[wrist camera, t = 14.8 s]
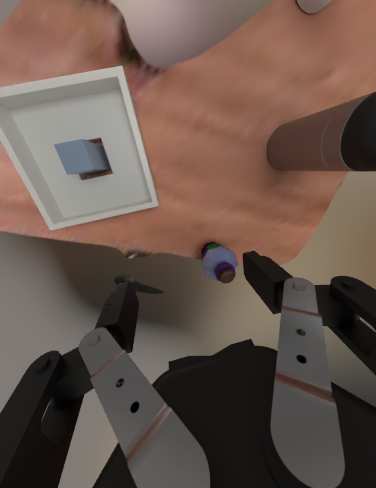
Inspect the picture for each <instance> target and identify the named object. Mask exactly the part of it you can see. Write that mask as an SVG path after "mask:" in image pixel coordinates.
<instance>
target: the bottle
mask: <svg viewBox="0 0 376 488" xmlns="http://www.w3.org/2000/svg"><path fill="white" fill-rule="evenodd" d="M296 1H297V3H298V5H299V6H300V8H301V9H302V10H303V11H305V12H306V13H317V12H318V11H320V10H322V9H323V8H324V7H325V6H326V5H327V4H329V3H330V2H331V1H332V0H296Z"/></svg>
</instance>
